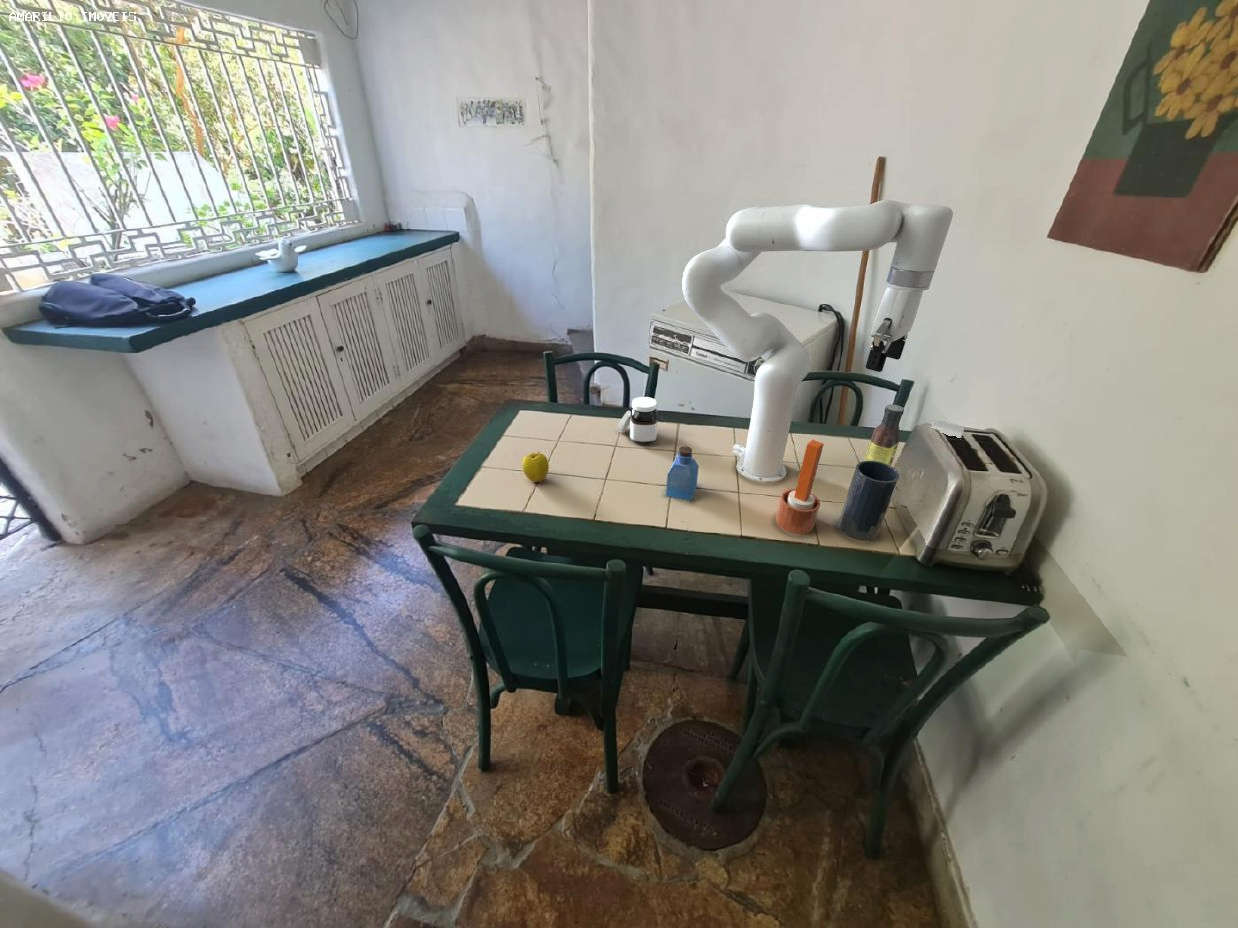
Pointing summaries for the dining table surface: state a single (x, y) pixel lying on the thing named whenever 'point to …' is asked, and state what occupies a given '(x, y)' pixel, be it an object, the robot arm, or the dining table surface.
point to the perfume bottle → (683, 475)
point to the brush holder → (796, 515)
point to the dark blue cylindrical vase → (868, 500)
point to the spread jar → (641, 420)
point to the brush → (806, 478)
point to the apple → (535, 466)
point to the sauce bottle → (886, 436)
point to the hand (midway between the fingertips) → (882, 363)
